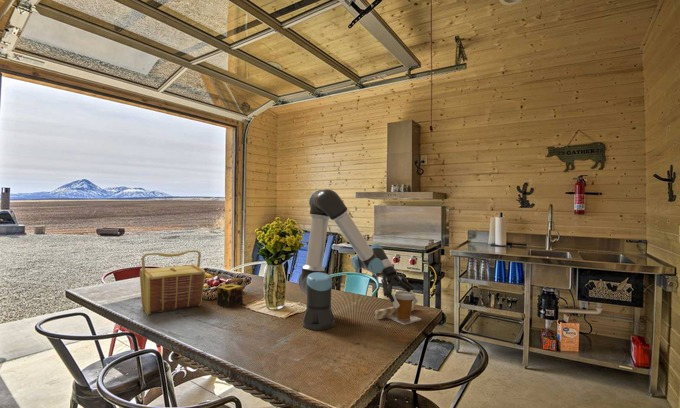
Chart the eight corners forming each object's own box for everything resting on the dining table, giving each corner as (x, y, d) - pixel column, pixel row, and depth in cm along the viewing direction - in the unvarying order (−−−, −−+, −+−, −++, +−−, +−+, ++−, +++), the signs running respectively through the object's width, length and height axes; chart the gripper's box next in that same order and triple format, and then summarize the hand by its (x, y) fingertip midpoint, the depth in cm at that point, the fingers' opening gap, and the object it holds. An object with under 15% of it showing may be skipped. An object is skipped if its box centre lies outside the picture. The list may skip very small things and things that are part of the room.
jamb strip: (377, 319, 161) (377, 311, 161) (374, 318, 163) (374, 310, 163) (415, 310, 178) (415, 302, 178) (412, 309, 179) (412, 301, 179)
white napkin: (404, 325, 155) (404, 323, 155) (386, 317, 164) (386, 315, 164) (421, 320, 162) (421, 318, 162) (403, 313, 171) (403, 311, 171)
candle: (243, 303, 184) (243, 286, 184) (228, 308, 176) (228, 289, 176) (231, 300, 190) (231, 283, 190) (216, 304, 181) (216, 286, 181)
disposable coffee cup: (415, 320, 158) (415, 296, 158) (395, 320, 159) (396, 295, 159) (411, 314, 168) (411, 291, 168) (392, 313, 168) (393, 290, 168)
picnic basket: (144, 319, 156) (145, 256, 156) (136, 305, 176) (137, 250, 176) (206, 308, 175) (208, 252, 175) (193, 297, 195) (194, 247, 195)
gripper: (399, 271, 183) (419, 304, 171) (365, 276, 168) (385, 313, 156) (406, 263, 179) (428, 297, 166) (372, 267, 164) (393, 304, 152)
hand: (407, 304), depth 161 cm, fingers open, 13 cm apart
